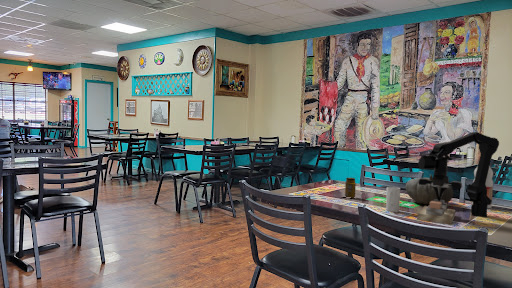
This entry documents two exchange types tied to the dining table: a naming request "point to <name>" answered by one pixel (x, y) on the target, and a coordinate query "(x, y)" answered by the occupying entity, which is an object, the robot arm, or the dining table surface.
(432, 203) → the salmon brown square block
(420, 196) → the gourd
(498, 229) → the dining table surface
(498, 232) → the dining table surface
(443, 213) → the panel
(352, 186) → the condiment
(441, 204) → the dark grey square block
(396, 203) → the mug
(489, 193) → the fruit juice
